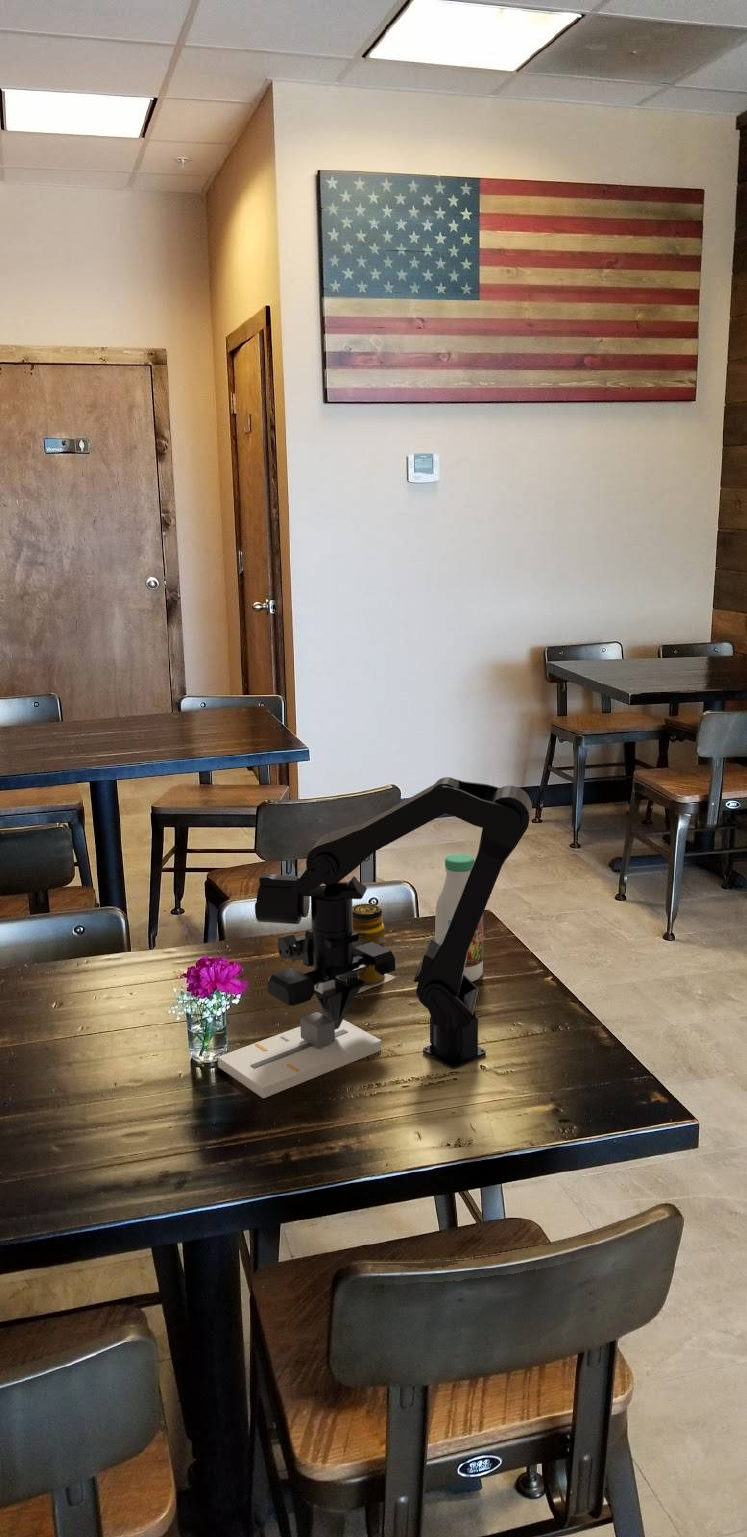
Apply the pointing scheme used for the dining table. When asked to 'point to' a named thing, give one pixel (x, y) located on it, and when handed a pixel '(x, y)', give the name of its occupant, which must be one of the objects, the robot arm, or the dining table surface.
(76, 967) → the dining table surface
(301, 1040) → the console
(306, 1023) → the fader
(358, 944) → the condiment
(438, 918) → the milk bottle
